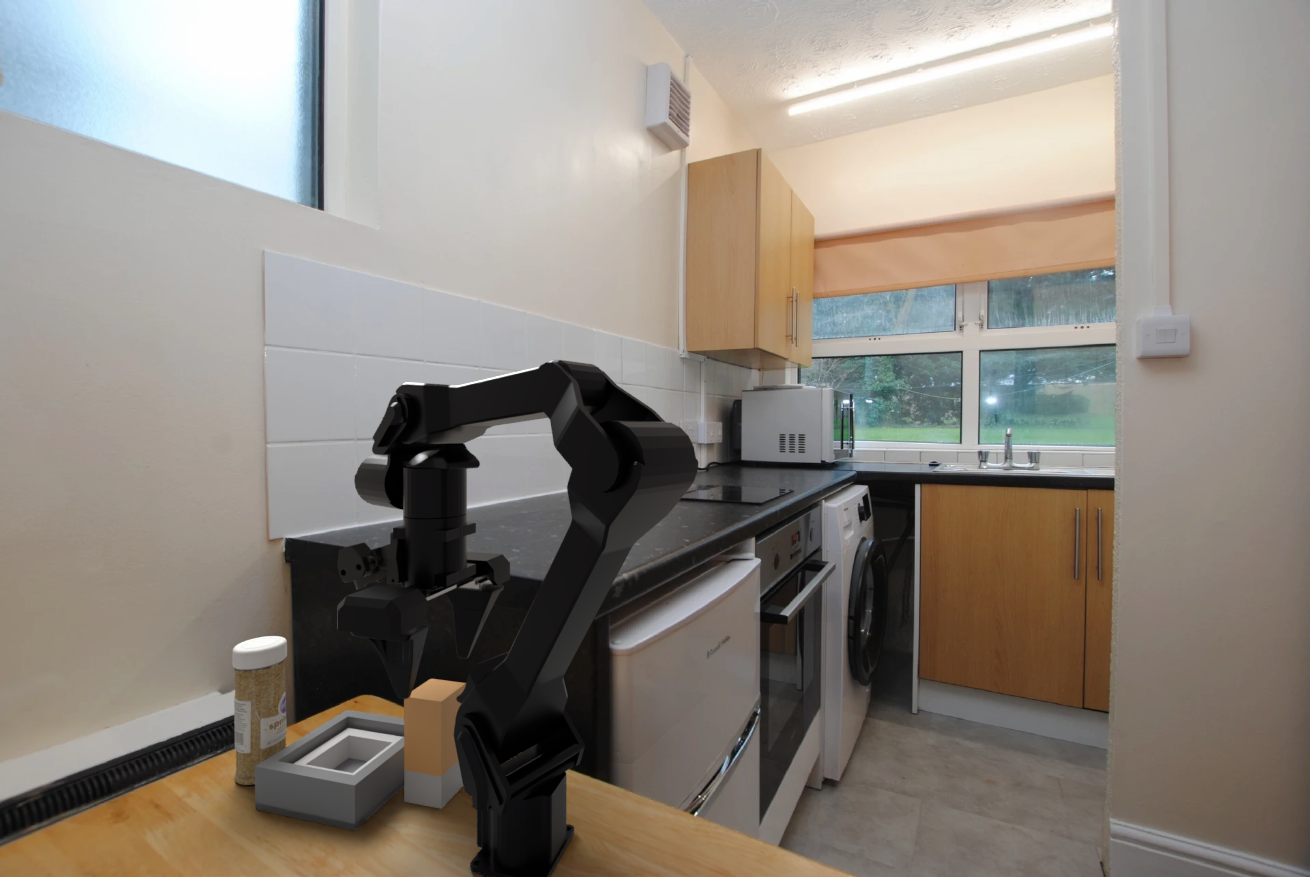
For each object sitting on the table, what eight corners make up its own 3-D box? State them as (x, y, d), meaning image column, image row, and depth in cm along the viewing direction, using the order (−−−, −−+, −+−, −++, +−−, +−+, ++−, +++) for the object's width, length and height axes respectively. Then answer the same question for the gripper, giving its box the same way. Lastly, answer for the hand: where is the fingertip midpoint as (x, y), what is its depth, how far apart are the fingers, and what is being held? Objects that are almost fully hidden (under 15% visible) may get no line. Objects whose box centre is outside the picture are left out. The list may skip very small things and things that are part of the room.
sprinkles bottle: (288, 777, 58) (287, 644, 57) (231, 793, 55) (230, 654, 55) (287, 755, 61) (286, 631, 61) (234, 769, 59) (233, 639, 59)
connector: (466, 783, 57) (465, 683, 57) (441, 808, 53) (441, 701, 53) (431, 776, 58) (430, 678, 58) (404, 801, 54) (404, 696, 54)
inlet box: (433, 760, 61) (433, 723, 61) (354, 830, 50) (354, 785, 50) (347, 745, 63) (347, 709, 63) (255, 809, 53) (255, 766, 53)
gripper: (425, 500, 66) (425, 634, 66) (282, 526, 48) (283, 711, 48) (512, 503, 63) (512, 644, 63) (396, 533, 45) (396, 729, 45)
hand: (435, 676), depth 55 cm, fingers open, 9 cm apart
